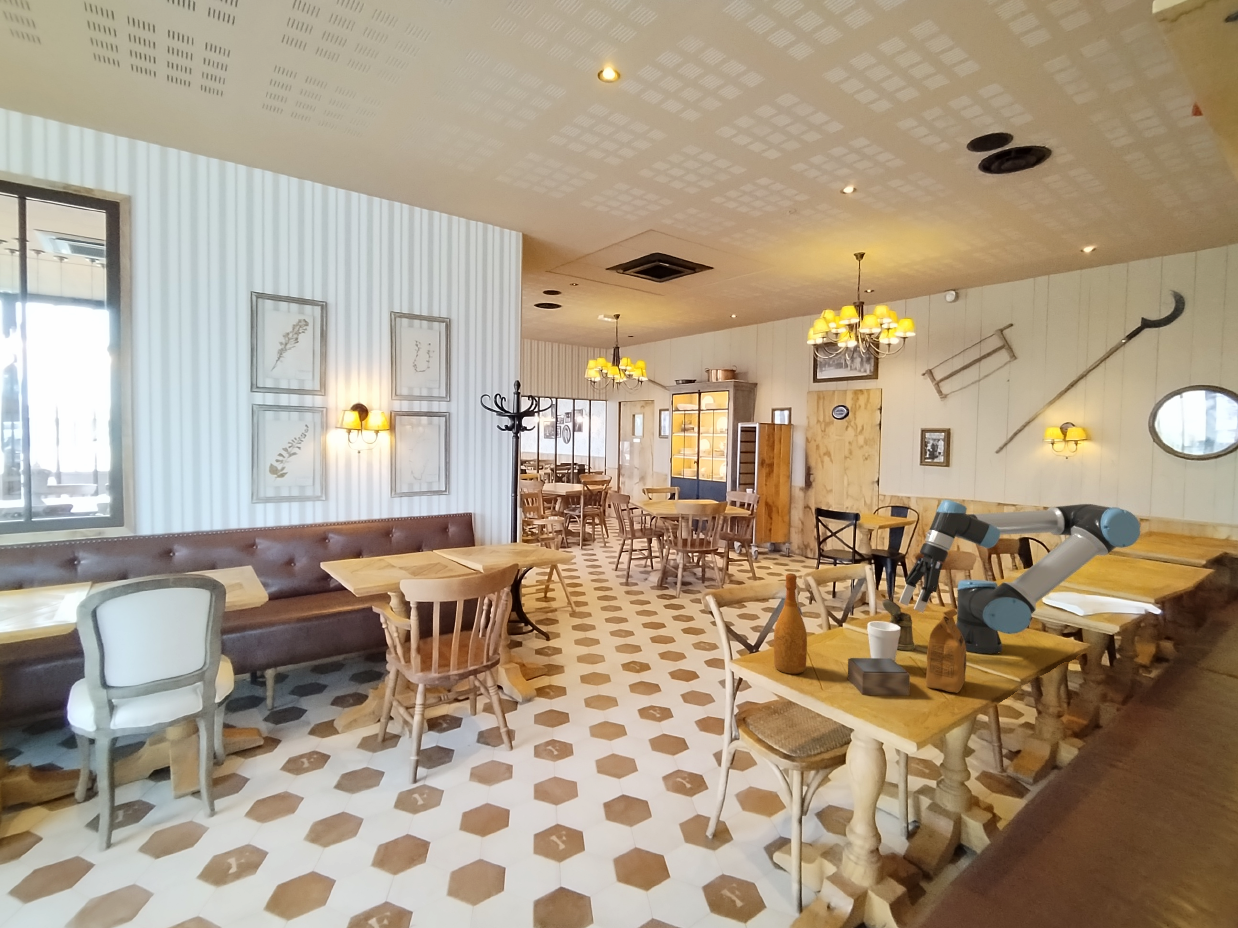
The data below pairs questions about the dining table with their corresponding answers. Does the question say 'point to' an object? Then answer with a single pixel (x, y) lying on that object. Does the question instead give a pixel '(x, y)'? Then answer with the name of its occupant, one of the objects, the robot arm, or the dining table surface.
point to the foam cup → (883, 639)
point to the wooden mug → (901, 625)
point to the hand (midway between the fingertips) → (910, 607)
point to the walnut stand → (878, 676)
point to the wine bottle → (790, 633)
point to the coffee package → (946, 655)
